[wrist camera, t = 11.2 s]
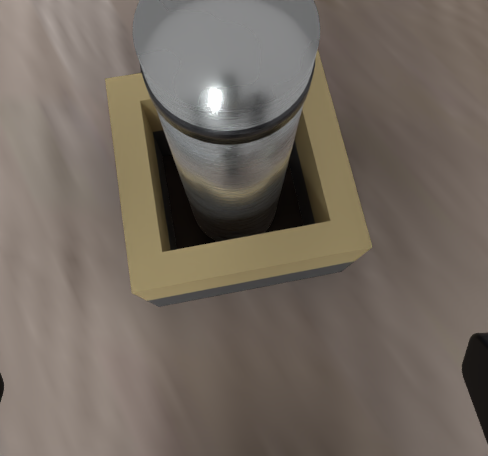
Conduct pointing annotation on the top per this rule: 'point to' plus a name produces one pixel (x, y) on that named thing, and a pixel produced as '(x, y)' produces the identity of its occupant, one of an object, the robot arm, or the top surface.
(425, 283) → the top surface
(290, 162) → the collar block
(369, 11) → the top surface
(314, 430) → the top surface
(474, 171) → the top surface
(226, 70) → the metal tumbler
